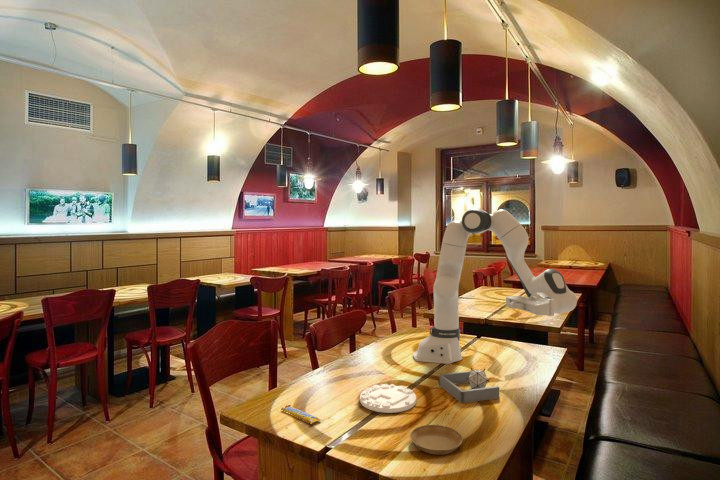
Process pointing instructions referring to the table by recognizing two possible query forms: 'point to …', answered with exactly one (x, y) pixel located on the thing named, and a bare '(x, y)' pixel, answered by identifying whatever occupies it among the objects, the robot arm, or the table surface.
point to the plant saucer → (436, 439)
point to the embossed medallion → (388, 398)
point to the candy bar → (300, 414)
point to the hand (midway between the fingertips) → (509, 305)
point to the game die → (477, 379)
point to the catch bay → (466, 395)
